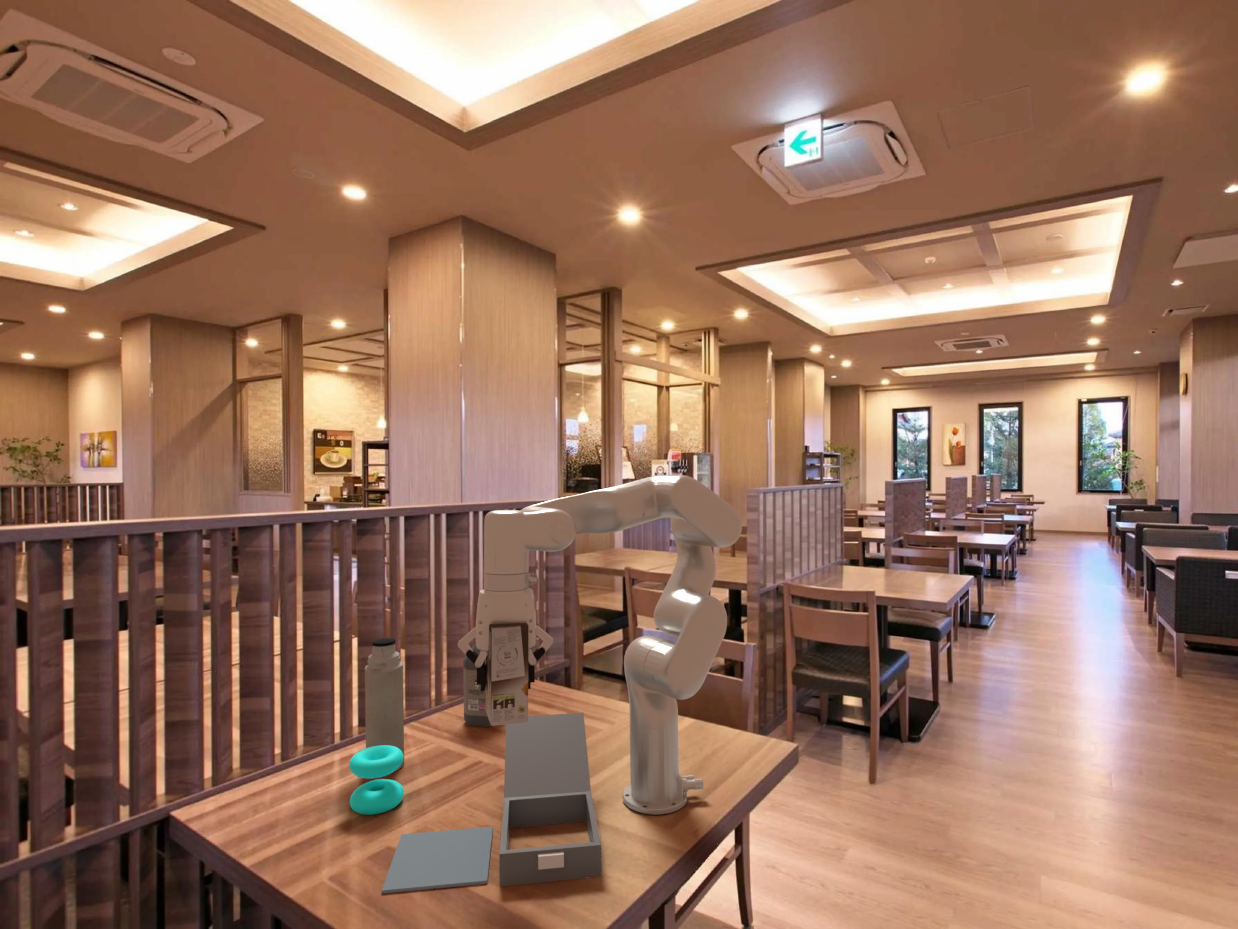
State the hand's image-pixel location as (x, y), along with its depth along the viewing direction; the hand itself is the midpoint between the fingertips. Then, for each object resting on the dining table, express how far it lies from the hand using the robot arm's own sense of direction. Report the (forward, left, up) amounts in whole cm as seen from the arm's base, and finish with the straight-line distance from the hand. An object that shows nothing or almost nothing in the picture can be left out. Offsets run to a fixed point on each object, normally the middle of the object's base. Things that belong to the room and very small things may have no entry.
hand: (505, 687), depth 113 cm
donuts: (+26, -21, -28) cm, 44 cm away
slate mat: (+11, 0, -28) cm, 30 cm away
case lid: (-7, -17, -19) cm, 26 cm away
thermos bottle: (+28, -38, -28) cm, 55 cm away
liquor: (+8, -62, -28) cm, 69 cm away
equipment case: (-7, 0, -28) cm, 29 cm away
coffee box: (0, 0, -5) cm, 5 cm away
